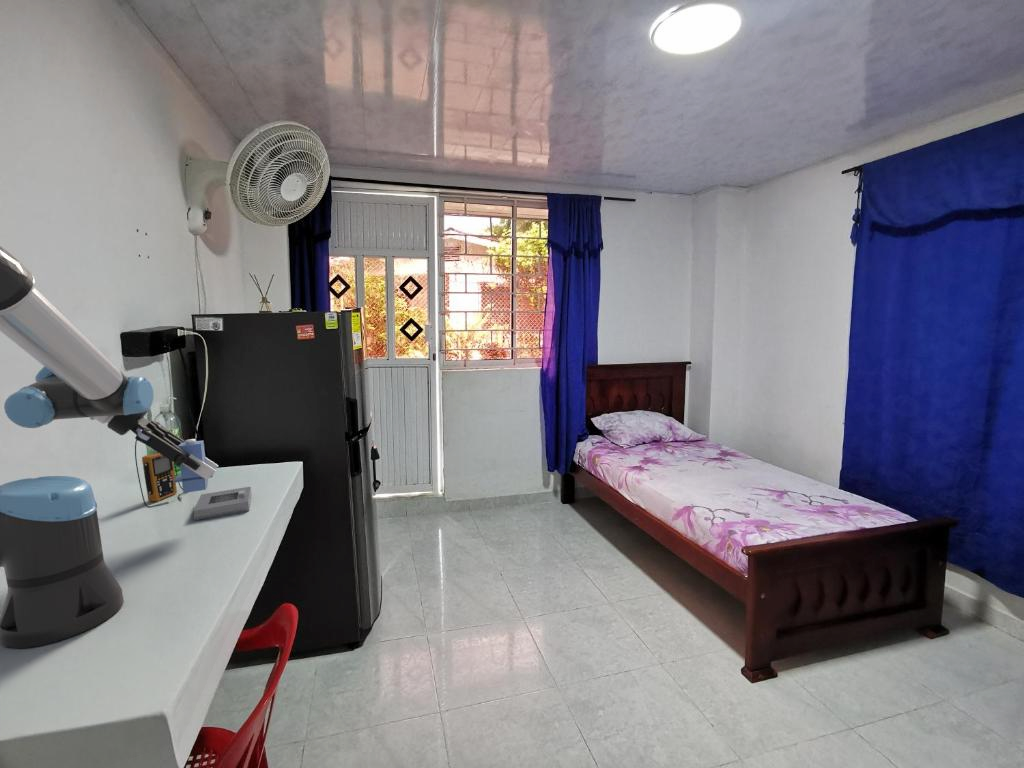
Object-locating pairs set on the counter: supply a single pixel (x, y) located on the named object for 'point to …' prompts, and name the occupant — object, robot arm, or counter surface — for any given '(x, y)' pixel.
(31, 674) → the counter surface
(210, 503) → the plate
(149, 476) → the multimeter
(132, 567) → the counter surface
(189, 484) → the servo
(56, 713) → the counter surface
